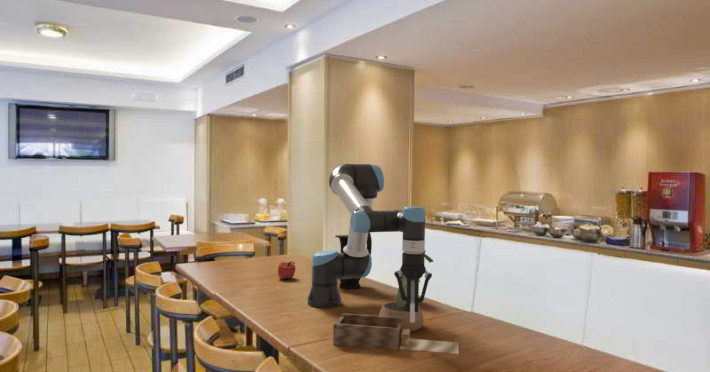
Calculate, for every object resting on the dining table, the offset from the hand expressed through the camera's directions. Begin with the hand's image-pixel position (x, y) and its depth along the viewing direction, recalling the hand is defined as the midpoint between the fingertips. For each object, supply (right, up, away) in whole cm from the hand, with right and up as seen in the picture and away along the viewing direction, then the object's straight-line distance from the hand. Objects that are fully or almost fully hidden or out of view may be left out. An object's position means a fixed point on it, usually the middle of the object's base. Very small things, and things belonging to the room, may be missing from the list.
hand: (412, 321), depth 163 cm
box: (-15, -8, +3) cm, 17 cm away
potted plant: (0, -8, +22) cm, 23 cm away
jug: (-21, -7, +84) cm, 87 cm away
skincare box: (+5, -7, +57) cm, 58 cm away
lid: (+6, -9, -1) cm, 10 cm away
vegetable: (-57, -6, +103) cm, 118 cm away
